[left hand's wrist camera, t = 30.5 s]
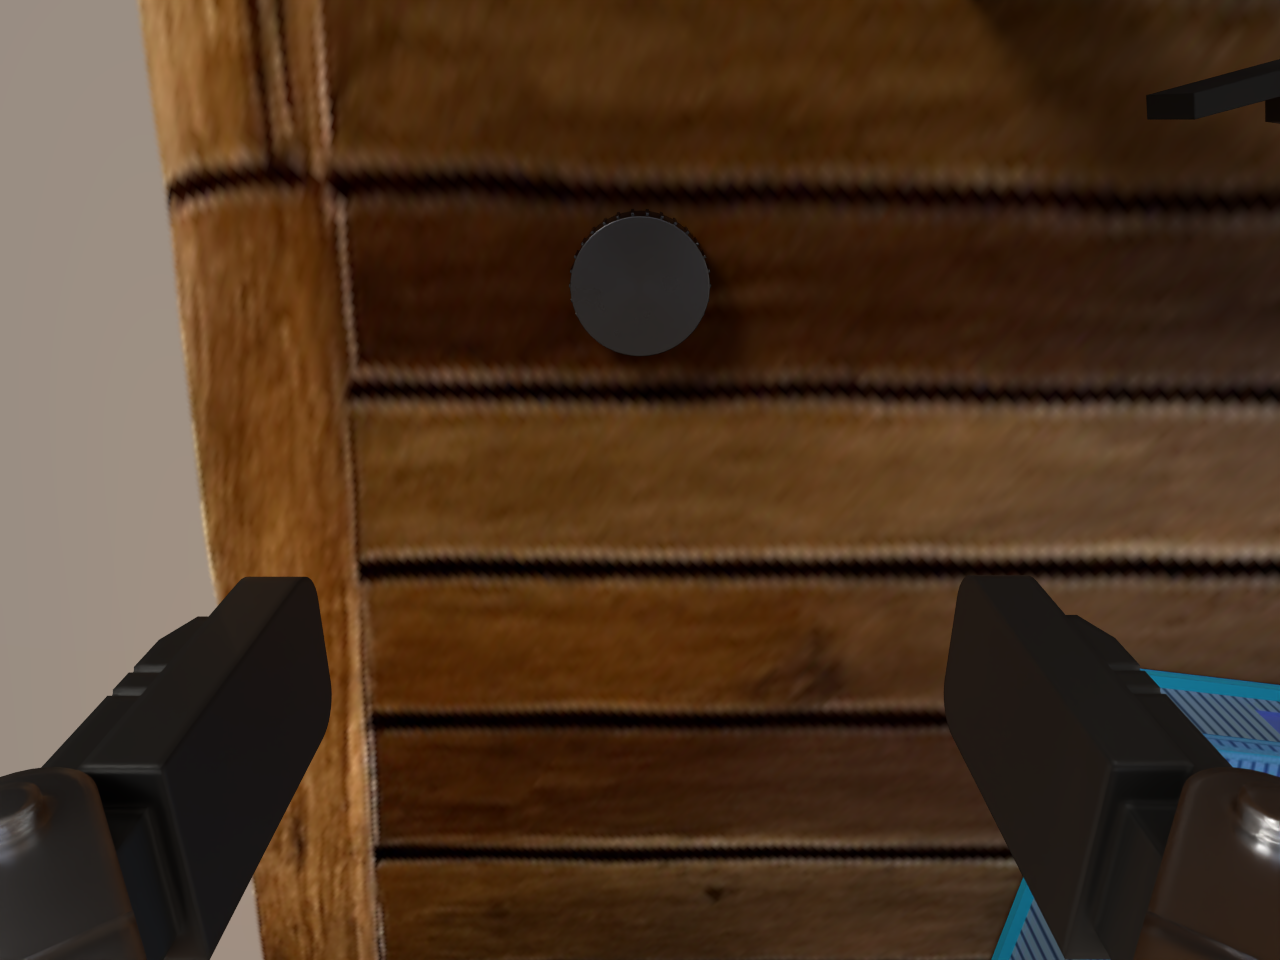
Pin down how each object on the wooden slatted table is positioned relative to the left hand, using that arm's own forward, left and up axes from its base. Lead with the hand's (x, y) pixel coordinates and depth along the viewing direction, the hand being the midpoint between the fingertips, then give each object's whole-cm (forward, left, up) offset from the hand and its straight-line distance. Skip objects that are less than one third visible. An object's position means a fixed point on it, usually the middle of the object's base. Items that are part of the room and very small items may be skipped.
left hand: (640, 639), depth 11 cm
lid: (0, 0, -25) cm, 25 cm away
